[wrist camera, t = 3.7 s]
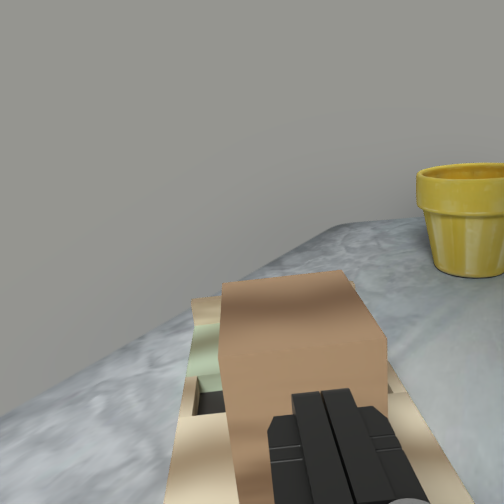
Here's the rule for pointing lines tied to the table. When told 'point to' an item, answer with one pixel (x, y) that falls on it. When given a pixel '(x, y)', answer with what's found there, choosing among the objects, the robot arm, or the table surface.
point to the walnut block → (291, 360)
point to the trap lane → (218, 441)
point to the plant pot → (464, 217)
